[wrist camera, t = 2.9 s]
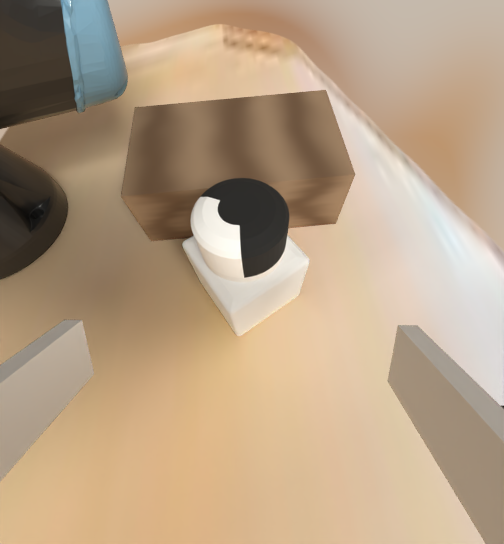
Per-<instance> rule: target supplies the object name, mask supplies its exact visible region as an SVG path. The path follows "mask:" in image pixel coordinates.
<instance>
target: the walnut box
mask: <svg viewBox="0 0 504 544" xmlns="http://www.w3.org/2000/svg"><path fill="white" fill-rule="evenodd" d="M354 176H355V173H354V170H353V167H352V164H351V161H350V158H349V155H348V152H347V149H346V147H345V144H344V141H343V138H342V135H341V132H340V129H339V126H338V123H337V121H336V118H335V115H334V112H333V109H332V106H331V103H330V100H329V97H328V95H327V92H326V90H320V91H309V92H298V93H287V94H276V95H265V96H255V97H244V98H233V99H222V100H211V101H200V102H189V103H178V104H167V105H157V106H146V107H135V110H134V117H133V123H132V129H131V136H130V142H129V149H128V155H127V161H126V168H125V174H124V180H123V187H122V193H121V197H122V199H123V200H124V202H125V203H126V205H127V206H128V208H129V209H130V211H131V212H132V214H133V215H134V217H135V218H136V219H137V221H138V222H139V224H140V225H141V227H142V228H143V230H144V231H145V233H146V234H147V236H148V237H149V239H150V240H151V241H158V240H168V239H179V238H189V237H192V236H194V234H193V232H192V228H191V213H192V209H193V207H194V205H195V203H196V202H197V200H198V199H199V197H200V196H201V195H202V194H203V193H204V192H205V191H206V190H208V189H209V188H210V187H212V186H213V185H215V184H217V183H219V182H222V181H225V180H228V179H234V178H250V179H255V180H259V181H261V182H264V183H266V184H268V185H269V186H271V187H273V188H274V189H275V190H277V191H278V192H279V193H280V194H281V196H282V197H283V198H284V200H285V201H286V203H287V206H288V209H289V226H288V228H294V227H304V226H315V225H325V224H336V222H337V219H338V216H339V214H340V211H341V209H342V206H343V204H344V201H345V199H346V196H347V194H348V191H349V189H350V186H351V184H352V181H353V179H354Z"/></svg>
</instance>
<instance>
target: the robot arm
mask: <svg viewBox="0 0 504 544" xmlns="http://www.w3.org/2000/svg"><path fill="white" fill-rule="evenodd" d="M127 82H128V75H127V70H126V66H125V62H124V58H123V55H122V51H121V48H120V44H119V41H118V37H117V33H116V30H115V26H114V22H113V19H112V15H111V12H110V8H109V4H108V1H107V0H0V129H2V128H6V127H10V126H14V125H18V124H22V123H27V122H31V121H35V120H39V119H43V118H47V117H51V116H55V115H59V114H63V113H67V112H71V111H75V110H76V111H77V112H78V113H81V112H84V111H85V108H88V107H91V106H94V105H98V104H101V103H104V102H108V101H111V100H114V99H117V98H118V97H120V96H121V95H122V94H123V93H124V91H125V89H126V86H127ZM66 216H67V199H66V196H65V194H64V192H63V190H62V189H61V187H60V186H59V185H58V184H57V183H56V182H55V181H54V180H53V179H52V178H51V177H50V176H49V175H48V174H47V173H46V172H45V171H44V170H42V169H41V168H40V167H38V166H36V165H34V164H33V163H31V162H29V161H28V160H26V159H24V158H23V157H21V156H19V155H18V154H16V153H14V152H12V151H11V150H9V149H7V148H6V147H4V146H2V145H1V144H0V279H2V278H5V277H7V276H10V275H12V274H14V273H16V272H18V271H19V270H21V269H23V268H24V267H26V266H28V265H29V264H30V263H32V262H33V261H34V260H36V259H37V258H38V257H39V256H41V255H42V254H43V253H44V252H45V251H46V250H47V249H48V248H49V247H50V245H51V244H52V243H53V242H54V240H55V239H56V238H57V236H58V235H59V233H60V231H61V229H62V227H63V225H64V223H65V220H66ZM93 375H94V370H93V366H92V361H91V357H90V353H89V348H88V344H87V340H86V335H85V331H84V327H83V322H82V320H64V321H62V322H61V323H59V324H58V325H56V326H55V327H54V328H52V329H51V330H49V331H48V332H46V333H45V334H44V335H42V336H41V337H39V338H38V339H37V340H35V341H34V342H32V343H31V344H29V345H28V346H27V347H25V348H24V349H22V350H21V351H20V352H18V353H17V354H15V355H14V356H12V357H11V358H10V359H8V360H7V361H5V362H4V363H3V364H1V365H0V481H1V480H2V479H3V478H4V477H5V476H6V474H7V473H8V472H9V471H10V470H11V469H12V468H13V466H14V465H15V464H16V463H17V462H18V461H19V460H20V458H21V457H22V456H23V455H24V454H25V453H26V452H27V450H28V449H29V448H30V447H31V446H32V445H33V443H34V442H35V441H36V440H37V439H38V438H39V437H40V435H41V434H42V433H43V432H44V431H45V430H46V429H47V427H48V426H49V425H50V424H51V423H52V422H53V421H54V419H55V418H56V417H57V416H58V415H59V414H60V413H61V411H62V410H63V409H64V408H65V407H66V406H67V405H68V403H69V402H70V401H71V400H72V399H73V398H74V397H75V395H76V394H77V393H78V392H79V391H80V390H81V389H82V387H83V386H84V385H85V384H86V383H87V382H88V381H89V379H90V378H91V377H92V376H93ZM388 383H389V384H390V386H391V388H392V389H393V391H394V393H395V394H396V396H397V398H398V399H399V401H400V403H401V404H402V406H403V408H404V409H405V411H406V413H407V414H408V416H409V418H410V419H411V421H412V423H413V424H414V426H415V427H416V429H417V431H418V432H419V434H420V436H421V437H422V439H423V441H424V442H425V444H426V446H427V447H428V449H429V451H430V452H431V454H432V456H433V457H434V459H435V461H436V462H437V464H438V466H439V467H440V469H441V471H442V472H443V474H444V475H445V477H446V479H447V480H448V482H449V484H450V485H451V487H452V489H453V490H454V492H455V494H456V495H457V497H458V499H459V500H460V502H461V504H462V505H463V507H464V509H465V510H466V512H467V514H468V515H469V517H470V519H471V520H472V522H473V523H474V525H475V527H476V528H477V530H478V532H479V533H480V535H481V537H482V538H483V540H484V542H485V543H486V544H504V406H500V405H499V404H498V403H497V402H496V401H495V400H494V399H493V398H492V397H491V396H490V395H489V394H488V393H487V392H486V391H485V390H484V389H483V388H481V387H480V386H479V385H478V384H477V383H476V382H475V381H474V380H473V379H472V378H471V377H470V376H469V375H468V374H467V373H466V372H465V371H464V370H463V369H462V368H461V367H460V366H459V365H458V364H457V363H456V362H455V361H454V360H452V359H451V358H450V357H449V356H448V355H447V354H446V353H445V352H444V351H443V350H442V349H441V348H440V347H439V346H438V345H437V344H436V343H435V342H434V341H433V340H432V339H431V338H430V337H429V336H428V335H427V334H426V333H425V332H424V331H422V330H421V329H420V328H419V327H418V326H409V325H398V328H397V333H396V339H395V344H394V349H393V355H392V360H391V366H390V371H389V376H388Z"/></svg>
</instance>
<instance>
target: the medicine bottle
mask: <svg viewBox="0 0 504 544" xmlns="http://www.w3.org/2000/svg"><path fill="white" fill-rule="evenodd" d="M288 226H289V209H288V206H287V203H286V201H285V200H284V198H283V197H282V196H281V194H280V193H279V192H278V191H277V190H275V189H274V188H273V187H271V186H269V185H268V184H266V183H264V182H261V181H259V180H255V179H250V178H234V179H228V180H225V181H222V182H219V183H217V184H215V185H213V186H212V187H210V188H209V189H208V190H206V191H205V192H204V193H203V194H202V195H201V196H200V197H199V199H198V200H197V202H196V203H195V205H194V207H193V209H192V213H191V228H192V232H193V234H194V236H192V237H190V238H188V239H187V240H185V241H184V242H183V243H182V246H183V249H184V251H185V253H186V255H187V257H188V259H189V261H190V263H191V265H192V267H193V269H194V271H195V273H196V275H197V277H198V279H199V281H200V282H201V284H202V285H203V287H204V288H205V290H206V291H207V293H208V294H209V296H210V297H211V299H212V300H213V302H214V303H215V304H216V306H217V307H218V309H219V310H220V312H221V313H222V315H223V316H224V318H225V319H226V321H227V322H228V324H229V325H230V327H231V328H232V330H233V331H234V333H235V334H236V335H237V336H241V335H243V334H244V333H246V332H247V331H249V330H250V329H252V328H253V327H254V326H256V325H257V324H259V323H260V322H262V321H263V320H264V319H266V318H267V317H269V316H270V315H272V314H273V313H274V312H276V311H277V310H279V309H280V308H282V307H283V306H284V305H286V304H287V303H289V302H290V301H292V300H293V299H294V298H296V297H297V296H298V295H299V293H300V290H301V287H302V284H303V281H304V278H305V274H306V271H307V268H308V265H309V258H308V257H307V256H306V255H305V253H304V252H303V251H302V250H301V249H300V248H299V247H298V246H297V245H296V244H295V243H294V241H293V240H292V239H291V238H290V237H289V236H288V235H287V233H288Z"/></svg>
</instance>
